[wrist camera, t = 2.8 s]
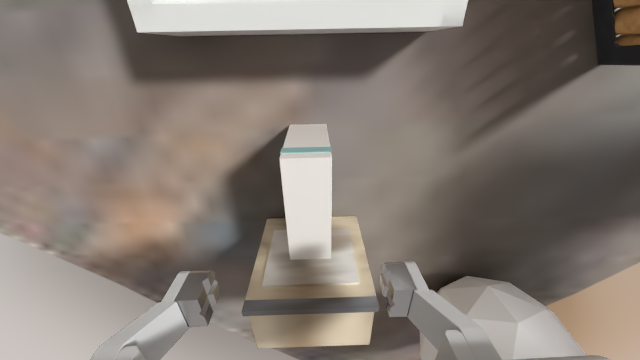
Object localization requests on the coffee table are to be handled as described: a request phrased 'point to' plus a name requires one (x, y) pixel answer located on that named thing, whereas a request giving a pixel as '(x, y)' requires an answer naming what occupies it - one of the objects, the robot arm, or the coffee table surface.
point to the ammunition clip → (617, 31)
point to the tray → (293, 16)
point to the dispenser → (311, 291)
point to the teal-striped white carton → (307, 190)
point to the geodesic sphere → (507, 320)
